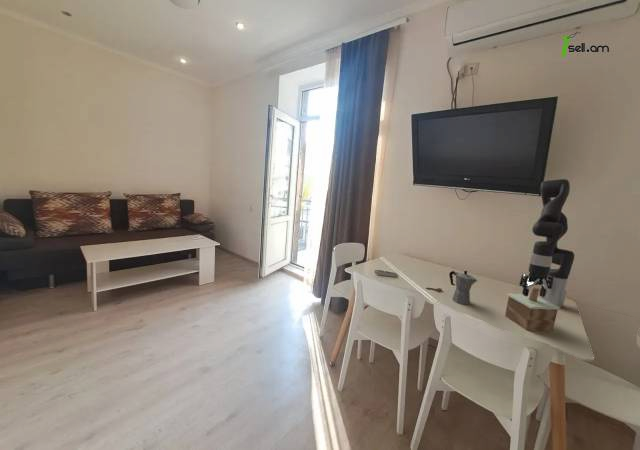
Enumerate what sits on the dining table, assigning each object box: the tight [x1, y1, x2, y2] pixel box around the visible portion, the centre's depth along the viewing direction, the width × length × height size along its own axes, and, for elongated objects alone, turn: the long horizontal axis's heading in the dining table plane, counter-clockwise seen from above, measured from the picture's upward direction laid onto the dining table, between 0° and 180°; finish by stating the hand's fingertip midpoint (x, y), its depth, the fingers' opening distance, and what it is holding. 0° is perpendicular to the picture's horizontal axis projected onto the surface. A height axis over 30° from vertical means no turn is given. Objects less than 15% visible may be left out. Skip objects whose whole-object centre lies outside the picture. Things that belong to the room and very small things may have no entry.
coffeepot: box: [448, 270, 478, 306], centre depth 145 cm, size 15×9×18 cm, turn 33°
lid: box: [506, 286, 561, 311], centre depth 123 cm, size 14×14×7 cm
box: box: [504, 296, 559, 332], centre depth 124 cm, size 13×13×11 cm
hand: (533, 296), depth 123 cm, fingers open, 8 cm apart
